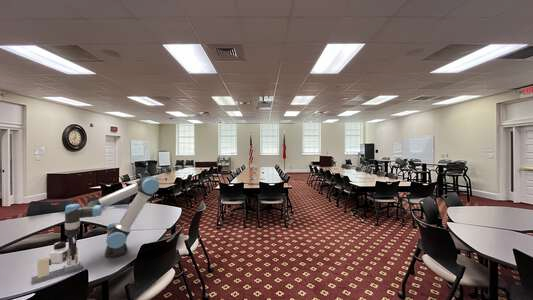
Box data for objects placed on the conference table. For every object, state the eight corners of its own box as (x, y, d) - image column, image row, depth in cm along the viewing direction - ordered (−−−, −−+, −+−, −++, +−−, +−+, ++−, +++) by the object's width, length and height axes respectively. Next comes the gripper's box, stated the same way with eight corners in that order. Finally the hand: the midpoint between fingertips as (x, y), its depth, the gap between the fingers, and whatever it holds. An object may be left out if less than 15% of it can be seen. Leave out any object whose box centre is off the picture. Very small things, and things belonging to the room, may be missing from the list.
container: (69, 258, 169) (69, 240, 169) (60, 263, 162) (60, 245, 161) (59, 258, 169) (59, 240, 169) (49, 263, 161) (49, 245, 161)
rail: (81, 265, 159) (81, 248, 158) (83, 269, 154) (83, 251, 154) (31, 280, 141) (31, 261, 141) (32, 284, 137) (31, 264, 137)
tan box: (76, 261, 156) (76, 246, 156) (77, 263, 153) (77, 248, 153) (64, 264, 151) (64, 249, 151) (65, 266, 149) (65, 251, 149)
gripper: (82, 229, 149) (81, 265, 150) (77, 223, 161) (77, 257, 161) (67, 232, 144) (66, 270, 144) (63, 226, 155) (62, 260, 156)
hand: (72, 263), depth 153 cm, fingers closed on tan box, 4 cm apart
